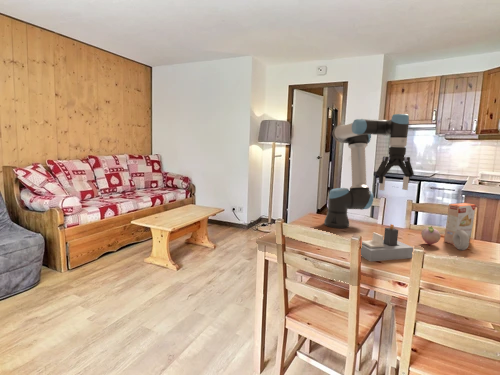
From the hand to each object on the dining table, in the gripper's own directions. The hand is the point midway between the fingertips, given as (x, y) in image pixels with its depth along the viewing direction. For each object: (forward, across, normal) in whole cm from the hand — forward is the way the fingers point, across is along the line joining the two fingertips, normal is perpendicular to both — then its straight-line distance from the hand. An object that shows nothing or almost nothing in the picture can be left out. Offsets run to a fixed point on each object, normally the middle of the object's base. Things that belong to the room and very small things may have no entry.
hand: (393, 189), depth 148 cm
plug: (+27, -8, -10) cm, 30 cm away
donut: (+29, +32, -12) cm, 45 cm away
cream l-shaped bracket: (+23, -18, -11) cm, 31 cm away
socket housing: (+29, -12, -11) cm, 33 cm away
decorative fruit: (+29, +23, -3) cm, 37 cm away
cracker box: (+29, +42, -2) cm, 51 cm away
